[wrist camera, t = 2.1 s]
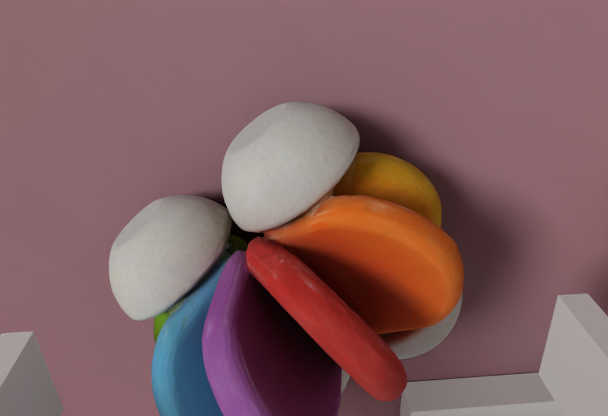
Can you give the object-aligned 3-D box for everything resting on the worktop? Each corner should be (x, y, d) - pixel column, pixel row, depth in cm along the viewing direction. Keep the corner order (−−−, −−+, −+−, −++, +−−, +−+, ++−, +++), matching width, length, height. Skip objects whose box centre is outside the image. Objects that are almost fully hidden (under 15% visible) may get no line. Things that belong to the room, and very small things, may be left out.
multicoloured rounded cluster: (478, 242, 17) (597, 427, 11) (261, 376, 20) (256, 587, 14) (331, 42, 14) (383, 146, 8) (90, 236, 16) (-23, 435, 10)
